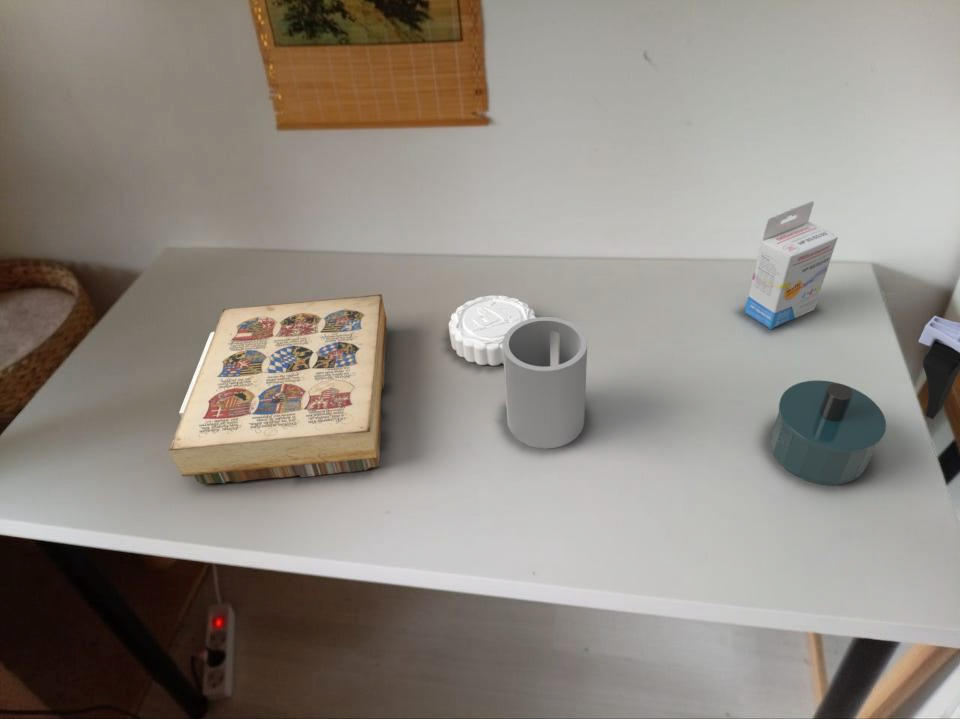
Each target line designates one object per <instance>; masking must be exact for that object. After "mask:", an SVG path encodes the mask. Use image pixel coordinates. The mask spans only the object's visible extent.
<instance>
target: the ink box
mask: <svg viewBox="0 0 960 719" xmlns="http://www.w3.org/2000/svg"><path fill="white" fill-rule="evenodd" d="M813 208H814V201H813V200H811V201H808V202H806V203H804V204H801V205H798V206H795V207H793V208H791V209H787V210H785V211H783V212H780V213H779V214H776V215H773V216H771V217H769V218H768V220H767V222H766V226H765V228H764V232H763V237H762V239H761V240H760V244H759V250H758V254H757V258H756V263H755V266H754V270H753V274H752V278H751V283H750V287H749V292H748V295H747V300H746V304H745V309H744V313H745V314H746V315H748V316H749V317H751V318H752V319H754V320H756V321H757V322H758V323H760V324H762V325H763V326H765V327H766V328H768V329H769V330H772V329H774V328H777V327H779V326H781V325H783V324H785V323H788V322H790V321H792V320H794V319H797V318H799V317H801V316H803V315H806V314H808V313H810V312H812V311H814V310H815V309H816V305H817V303H818V300H819V297H820V294H821V290H822V287H823V284H824V281H825V279H826V274H827V273H828V268H829V266H830V263H831V260H832V256H833V253H834V250H835V248H836V244H837V242H838V239H839V237H838V236H837V235H836V234H833V233H831V232H829V231H828V230H825V229H824V228H823V227H822V228H821V226H818V225H817V224H815V223H813V222H811V221H809V220H810V217H811V214H812V210H813ZM790 216H791V217H794V216H795V218H793V219H791V220H789V221H785V222H783V221H784V220H787V219H788V218H789V217H790ZM782 222H783V223H782Z"/></svg>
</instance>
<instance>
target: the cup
mask: <svg viewBox="0 0 960 719" xmlns="http://www.w3.org/2000/svg"><path fill="white" fill-rule="evenodd" d="M551 332H553V333H558V356H557V357H558V359H557V360H558V363H557V365H551ZM587 359H588V339H587V336H586V334H585V333H584V331H583V330H582V329H581V328H580V327H579V326H578V325H576V324H574V323H573V322H571V321H569V320H566V319H562V318H560V317H553V316H552V317H551V316H550V317H549V316H540V317H536V318H532V319H528V320H525V321H523V322H520V323H518V324H516V325H515V326H513V327H512V328H510V329H509V330H508V332H507V333H506V334H505V336H504V339H503V360H504V364H503V373H504V388H505V405H506V419H507V420H506V421H507V427H508V430H509V431H510V433H511V435H512V436H513V437H514V438H515V439H516V440H518V441H519V442H520V443H522V444H523V445H526V446H528V447H532V448H537V449H545V450H548V449H556V448H560V447H564V446H566V445H568V444H570V443H571V442H573V441H574V440H575V439H576V438H578V437H579V436H580V434H581V433H582V431H583V429H584V425H585V410H586V387H587V386H586V385H587V364H588V363H587V362H588V360H587Z"/></svg>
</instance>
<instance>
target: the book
mask: <svg viewBox="0 0 960 719" xmlns="http://www.w3.org/2000/svg"><path fill="white" fill-rule="evenodd" d="M387 338H388V328H387V314H386V309H385V304H384V299H383V294H380V293H379V294H371V295H360V296H359V295H358V296H350V297H339V298H328V299H318V300H306V301H295V302H285V303H276V304H275V303H273V304H266V305H265V304H264V305H253V306H243V307H233V308H223V309H222V311H221V314H220V317H219V320H218V322H217V325H216V327H215V329H214V331H211V332H209V335H208V339H207V341H206V344H205V345H204V349H203V351H202V353H201V356H200V358H199V361H198V364H197V366H196V368H195V372H194V373H193V377H192V378H191V381H190V383H189V386H188V389H187V392H186V394H185V397H184V399H183V402H182V404H181V407H180V409H179V412H178V414H179V417H180V421H179V423H178V426H177V429H176V431H175V433H174V436H173V438H172V441H171V444H170V447H169V449H168V452H169V455H170V456H171V458H172V460H173V462H174V464H175V465H176V467H177V469H178V471H179V473H180V475H181V476H182V477H189V476H194V478H195V479H196V482H198V483H199V484H201V485H204V484H205V485H206V484H225V483H227V482H233V483H241V482H245V481H253V480H255V481H256V480H262V479H275V478H280V479H282V478H290V477H297V476H300V478H308V477H315V476H322V475H332V474H333V475H334V474H336V473H355V472H361V471H367V470H368V469H370V468H376V467H379V466H380V458H381V457H380V456H381V451H380V450H381V442H382V441H381V439H382V425H383V423H382V422H383V421H382V420H383V416H382V411H381V401H382V391H383V389H384V388H385V377H386V376H385V374H386V371H385V369H386V351H387V342H388V341H387V340H388V339H387Z"/></svg>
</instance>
